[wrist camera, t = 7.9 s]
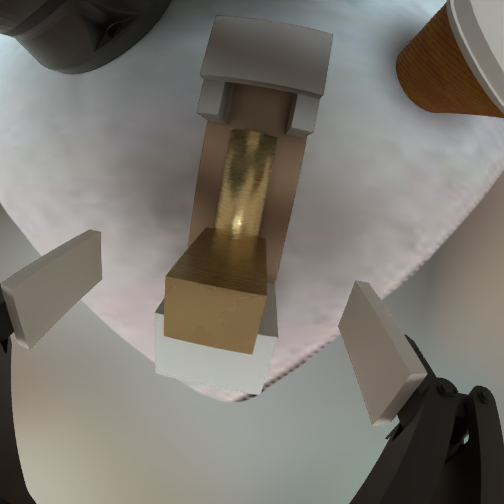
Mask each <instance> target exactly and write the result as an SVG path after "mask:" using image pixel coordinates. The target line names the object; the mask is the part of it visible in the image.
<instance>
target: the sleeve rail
mask: <svg viewBox="0 0 504 504" xmlns="http://www.w3.org/2000/svg"><path fill="white" fill-rule="evenodd" d="M332 38H333V34H330V33H326V32H322V31H318V30H314V29H310V28H306V27H301V26H297V25H292V24H286V23H281V22H275V21H268V20H261V19H253V18H244V17H232V16H216V18H215V21H214V24H213V28H212V31H211V35H210V38H209V42H208V45H207V49H206V53H205V56H204V60H203V64H202V68H201V72H200V75H201V77H202V78H203V79H204V81H203V86H202V90H201V95H200V99H199V104H198V109H197V113H198V114H200V115H201V116H203V117H204V118H206V119H207V120H208V122H207V127H206V132H205V138H204V143H203V149H202V154H201V160H200V166H199V172H198V178H197V185H196V191H195V198H194V205H193V213H192V220H191V228H190V236H189V245H188V248H189V247H190V246H191V244H192V243H193V242H194V241H195V240H196V238H197V237H198V236H199V235H200V234H201V232H202V231H203V230H204V229H205V228H206V227H209V228H214V226H215V219H216V213H217V207H218V200H219V194H220V188H221V183H222V177H223V171H224V166H225V160H226V155H227V149H228V144H229V139H230V133H231V130H233V129H237V130H247V131H253V132H259V133H263V134H267V135H271V136H274V137H277V138H278V141H277V146H276V151H275V156H274V161H273V166H272V171H271V176H270V181H269V186H268V191H267V196H266V201H265V206H264V211H263V216H262V221H261V226H260V231H259V236H258V237H262V238H266V266H267V282H269V283H274V284H275V280H276V276H277V271H278V267H279V263H280V259H281V255H282V250H283V246H284V242H285V237H286V233H287V229H288V224H289V220H290V215H291V211H292V206H293V202H294V197H295V193H296V188H297V183H298V179H299V174H300V169H301V164H302V159H303V154H304V149H305V144H306V139H307V136H308V135H310V134H311V133H313V131H314V126H315V121H316V115H317V110H318V105H319V99H320V98H321V97H322V96H323V94H324V88H325V82H326V76H327V70H328V64H329V58H330V51H331V45H332Z"/></svg>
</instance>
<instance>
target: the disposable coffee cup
mask: <svg viewBox="0 0 504 504" xmlns="http://www.w3.org/2000/svg"><path fill="white" fill-rule="evenodd" d="M396 68H397V75H398V79H399V81H400V83H401V86H402V87H403V89H404V91H405V92H406V94H407V95H408V96H409V98H410V99H411V100H412V101H413V102H414V103H415V104H417V105H418V106H419V107H421V108H422V109H424V110H426V111H430V112H434V113H458V114H472V115H483V116H491V117H499V118H504V0H447V3H445V4H444V6H443V7H442V8H441V9H440V10H439V11H438V12H437V13H436V14H435V15H434V17H433V18H431V20H430V21H429V22H428V23H427V24H426V26H424V28H423V29H422V30H421V31H420V32H419V33H418V34H417V36H415V38H414V39H413V40H412V41H411V42H410V43H409V44H408V45H407V46H406V48H405V49H404V50H403V51H402V52H401V53H400V54H399V56H398V59H397V66H396Z"/></svg>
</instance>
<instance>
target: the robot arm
mask: <svg viewBox="0 0 504 504" xmlns="http://www.w3.org/2000/svg"><path fill="white" fill-rule="evenodd" d="M170 1H171V0H0V34H4V35H7V36H11V37H14V38H15V39H16V40H17V41H18V42H19V43H20V44H21V45H22V46H23V47H24V48H25V49H26V50H27V51H28V52H29V53H30V54H31V55H32V56H33V57H34V58H35V59H36V60H37V61H38V62H39V63H40V64H41V65H43V66H44V67H46V68H48V69H51V70H55V71H58V72H61V73H65V74H78V73H83V72H87V71H90V70H93V69H95V68H98V67H100V66H102V65H104V64H106V63H108V62H110V61H111V60H113V59H115V58H116V57H118V56H119V55H121V54H122V53H124V52H125V51H126V50H128V49H129V48H130V47H131V46H133V45H134V44H135V43H136V42H137V41H139V40H140V39H141V38H142V37H143V36H144V35H145V34H146V33H147V32H148V31H149V30H150V29H151V28H152V27H153V26H154V24H155V23H156V22H157V21H158V20H159V18H160V17H161V16H162V14H163V13H164V11H165V10H166V8H167V7H168V5H169V3H170ZM101 280H102V264H101V232H99V231H94V230H88V231H86V232H84V233H82V234H80V235H78V236H77V237H75V238H73V239H71V240H69V241H68V242H66V243H64V244H62V245H61V246H59V247H57V248H56V249H54V250H52V251H50V252H49V253H47V254H45V255H44V256H42V257H40V258H39V259H37V260H36V261H34V262H32V263H31V264H29V265H28V266H26V267H24V268H23V269H21V270H20V271H18V272H17V273H15V274H14V275H12V276H11V277H9V278H8V279H6V280H5V281H3V282H2V283H1V284H0V504H36V502H35V501H34V500H33V498H32V497H31V496H30V494H29V492H28V490H27V488H26V485H25V481H24V477H23V473H22V469H21V464H20V460H19V455H18V449H17V444H16V438H15V430H14V423H13V412H12V398H11V348H12V343H11V339H10V335H11V334H12V333H13V332H14V333H15V336H16V339H17V341H18V344H20V345H22V346H23V347H25V348H27V349H29V350H30V349H31V348H32V347H33V346H34V345H35V344H36V343H37V342H38V341H39V340H40V338H42V337H43V336H44V334H45V333H46V332H47V331H48V330H49V329H50V328H51V327H52V326H53V325H54V324H55V323H56V322H57V321H58V320H59V319H60V318H61V317H62V316H63V315H64V314H65V313H66V312H67V311H68V310H69V309H71V308H72V307H73V306H74V305H75V304H76V303H77V302H78V301H79V300H80V299H81V298H82V297H83V296H84V295H85V294H86V293H87V292H89V291H90V290H91V289H92V288H93V287H94V286H95V285H96V284H97V283H98V282H100V281H101ZM338 327H339V329H340V332H341V335H342V338H343V340H344V343H345V346H346V349H347V351H348V354H349V357H350V360H351V363H352V365H353V368H354V371H355V374H356V377H357V380H358V383H359V386H360V389H361V392H362V395H363V398H364V401H365V404H366V408H367V410H368V414H369V417H370V420H371V424H372V426H376V425H387V424H390V422H391V421H392V420H393V419H394V418H395V417H396V415H398V418H399V420H400V422H399V424H398V425H397V426H396V427H395V428H394V429H393V430H392V431H391V432H390V434H389V435H388V436H387V437H386V439H388V438H389V437H390V436H391V437H390V439H389V441H388V442H387V445H386V446H385V448H384V450H383V452H382V454H381V455H380V457H379V459H378V461H377V462H376V464H375V466H374V467H373V469H372V471H371V472H370V474H369V475H368V477H367V479H366V480H365V482H364V483H363V485H362V486H361V488H360V489H359V491H358V492H357V494H356V495H355V496H354V498H353V499H352V501H351V502H350V504H504V443H503V436H502V430H501V425H500V420H499V415H498V411H497V407H496V402H495V399H494V397H493V395H492V393H491V392H490V390H488V389H487V388H486V387H482V386H475V387H474V388H473V389H472V391H471V392H470V393H469V394H468V395H466V394H461V393H458V390H457V388H456V387H455V386H454V385H453V384H452V383H451V382H450V381H448V380H447V379H444V378H437V377H436V376H435V374H434V372H433V371H432V369H431V367H430V366H429V364H428V363H427V361H426V360H425V358H423V355H422V353H421V352H420V351H419V348H418V347H417V345H416V344H415V342H414V341H413V340H412V339H410V338H409V337H408V336H407V335H404V334H403V332H402V331H401V329H400V328H399V326H398V325H397V323H396V322H395V320H394V319H393V317H392V316H391V314H390V313H389V311H388V310H387V309H386V307H385V305H384V304H383V303H382V301H381V300H380V298H379V297H378V295H377V294H376V293H375V291H374V290H373V288H372V287H371V286H370V284H369V283H366V282H361V281H355V283H354V286H353V289H352V292H351V294H350V297H349V300H348V302H347V305H346V307H345V310H344V313H343V315H342V318H341V320H340V323H339V325H338ZM468 434H469V439H468V442H466V443H465V444H464V438H465V437H466V436H467V435H468Z"/></svg>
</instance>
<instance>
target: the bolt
mask: <svg viewBox="0 0 504 504" xmlns="http://www.w3.org/2000/svg"><path fill="white" fill-rule="evenodd" d="M277 141H278V138H277V137H274V136H271V135H267V134H263V133H259V132H253V131H247V130H237V129H233V130H231V133H230V139H229V144H228V149H227V155H226V160H225V166H224V171H223V177H222V183H221V188H220V194H219V200H218V207H217V213H216V219H215V226H214V228H209V227H206V228H205V229H204V230H203V231H202V232H201V234H200V235H199V236H198V237H197V238H196V240H195V241H194V242H193V243H192V244H191V246H190V247H189V248H188V249H187V250H186V252H185V253H184V254H183V255H182V256H181V258H180V259H179V260H178V261H177V263H176V264H175V265H174V266H173V268H172V269H171V270H170V271H169V273H168V274H167V275H166V281H165V301H164V336H165V337H169V338H173V339H177V340H182V341H186V342H190V343H195V344H199V345H204V346H208V347H213V348H218V349H223V350H228V351H234V352H239V353H245V354H251V355H252V354H253V350H254V346H255V342H256V338H257V334H258V330H259V326H260V322H261V318H262V314H263V310H264V306H265V302H266V298H267V266H266V238H262V237H258V236H259V231H260V226H261V221H262V216H263V211H264V206H265V201H266V196H267V191H268V186H269V181H270V176H271V171H272V166H273V161H274V156H275V151H276V146H277Z"/></svg>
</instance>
